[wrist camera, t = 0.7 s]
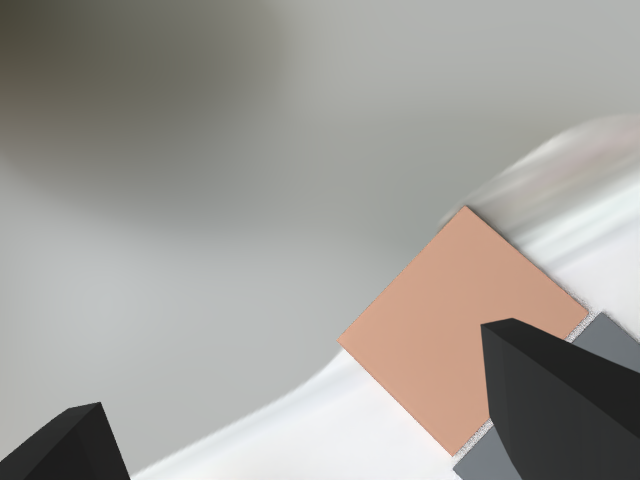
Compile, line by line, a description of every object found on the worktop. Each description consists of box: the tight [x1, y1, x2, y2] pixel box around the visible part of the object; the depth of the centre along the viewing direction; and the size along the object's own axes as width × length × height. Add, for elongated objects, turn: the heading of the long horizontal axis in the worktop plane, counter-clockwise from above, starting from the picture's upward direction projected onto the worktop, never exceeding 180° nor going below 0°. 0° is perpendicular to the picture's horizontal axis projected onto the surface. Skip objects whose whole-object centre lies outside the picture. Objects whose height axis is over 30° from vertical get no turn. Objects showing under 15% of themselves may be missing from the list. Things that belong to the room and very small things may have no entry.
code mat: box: [453, 312, 640, 480], centre depth 28 cm, size 12×12×1 cm
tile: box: [337, 206, 589, 457], centre depth 30 cm, size 9×11×1 cm
